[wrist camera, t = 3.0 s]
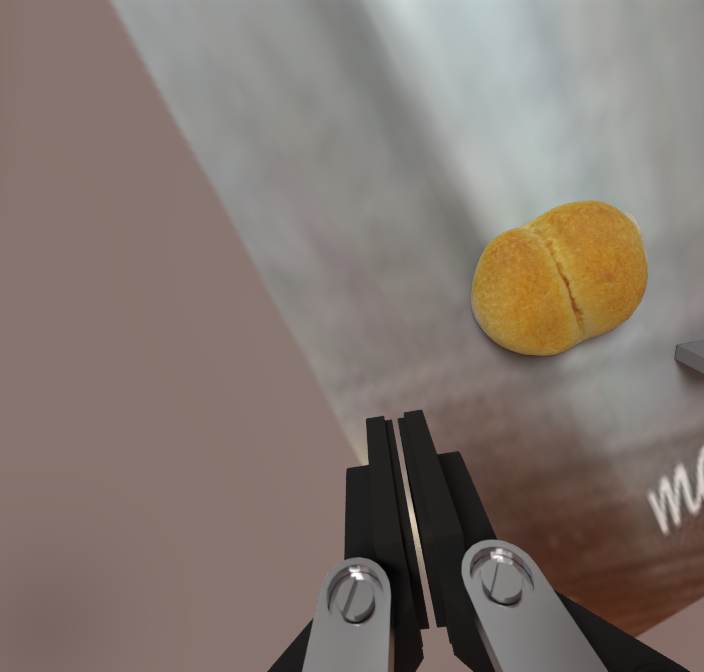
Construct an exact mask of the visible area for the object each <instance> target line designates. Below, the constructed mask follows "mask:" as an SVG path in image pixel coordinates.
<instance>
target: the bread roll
mask: <svg viewBox="0 0 704 672" xmlns="http://www.w3.org/2000/svg"><path fill="white" fill-rule="evenodd" d="M647 266H648V262H647V260H646V252H645V246H644V242H643V239H642V232H641V230H640V228H639V226H638V223H637V222H636V220H635V219H634V217H633V216H632V215H631V214H629V213H626V212H621V211H619V210H618V209H616V208H615V207H613V206H611V205H609V204H606V203H604V202H599V201H593V200H590V201H580V202H574V203H568V204H564V205H561V206H558V207H556V208H553V209H551V210H549V211H548V212H546V213H544V214H543V215H541V216H539V217H538V218H536V219H535V220H533V221H531V222H529V223H527V224H525V225H523V226H521V227H518V228H514V229H511V230H509V231H506V232H504V233H502V234H501V235H499V236H497V237H496V238H495V239H493V240H492V241H491V242H490V243H489V244H488V245H487V246H486V248H485V249H484V251H483V253H482V255H481V257H480V259H479V262H478V265H477V268H476V271H475V274H474V278H473V282H472V290H471V307H472V312H473V314H474V317H475V319H476V321H477V323H478V324H479V326H480V327H481V328H482V330H483V331H484V332H485V333H486V334H487V335H488V336H489V337H490V338H491V339H492V340H493V341H495V342H496V343H497V344H499V345H500V346H502V347H504V348H506V349H509V350H511V351H514V352H517V353H521V354H524V355H538V356H547V355H555V354H559V353H562V352H564V351H566V350H568V349H570V348H572V347H573V346H575V345H576V344H578V343H580V342H582V341H584V340H586V339H589V338H592V337H595V336H598V335H601V334H604V333H606V332H608V331H611V330H613V329H614V328H616V327H617V326H618V325H620V324H621V323H622V322H624V321H625V320H627V319H629V317H630V316H631V315H632V314H633V312H634V311H635V310H636V308H637V307H638V305H639V303H640V302H641V300H642V298H643V295H644V293H645V289H646V284H647V277H648V275H647Z"/></svg>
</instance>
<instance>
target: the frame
mask: <svg viewBox="0 0 704 672" xmlns="http://www.w3.org/2000/svg"><path fill="white" fill-rule="evenodd" d="M675 359H676V360H678V361H680V362H682V363H684V364H686V365H688V366H690V367H692V368H694V369H696V370H697V371H699V372H701V373H703V374H704V341H698V342H692V343H686V344H680V345H677V349H676V354H675Z"/></svg>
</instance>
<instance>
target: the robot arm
mask: <svg viewBox="0 0 704 672" xmlns="http://www.w3.org/2000/svg"><path fill="white" fill-rule="evenodd" d="M398 424H399V430H400V436H401V441H402V447H403V453H404V459H405V464H406V470H407V476H408V482H409V487H410V493H411V498H412V503H413V508H414V513H415V518H416V523H417V528H418V533H419V539H420V544H421V549H422V554H423V559H424V564H425V569H426V574H427V579H428V584H429V589H430V594H431V599H432V604H433V609H434V614H435V619H436V624H437V627H446V628H447V632H448V637H449V641H450V644H452V647H453V651H454V655H455V656H457V657H458V658H459V659H460V660H461V661H462V662H463V663H464V664H465V665H467V666H468V667H469V668H470V669H471V670H472V671H473V672H690V671H688V670H687V669H685V668H684V667H682V666H681V665H679V664H677V663H676V662H674V661H672V660H671V659H669V658H667V657H666V656H664V655H662V654H660V653H659V652H657V651H655V650H654V649H652V648H650V647H649V646H647V645H645V644H643V643H642V642H640V641H639V640H637V639H635V638H634V637H632V636H630V635H629V634H627V633H625V632H624V631H622V630H620V629H619V628H617V627H615V626H614V625H612V624H610V623H609V622H607V621H605V620H604V619H602V618H600V617H599V616H597V615H595V614H593V613H592V612H590V611H588V610H587V609H585V608H583V607H582V606H580V605H578V604H577V603H575V602H573V601H572V600H570V599H568V598H567V597H565V596H563V595H562V594H560V593H558V592H557V591H555V590H553V589H552V587H551V586H550V584H549V583H548V581H547V580H546V578H545V577H544V575H543V574H542V572H541V571H540V569H539V568H538V566H537V565H536V564H535V562H534V561H533V560H532V559H531V558H530V557H529V555H528V554H527V553H525V552H524V551H522V550H521V549H520V548H518V547H517V546H515V545H512V544H510V543H508V542H505V541H500V540H497V538H496V536H495V533H494V531H493V529H492V526H491V524H490V522H489V519H488V517H487V515H486V512H485V510H484V508H483V505H482V503H481V501H480V498H479V496H478V493H477V491H476V489H475V486H474V484H473V482H472V479H471V477H470V475H469V472H468V470H467V468H466V465H465V463H464V461H463V458H462V456H461V454H460V453H459V451H457V452H450V453H444V454H437V453H436V450H435V447H434V444H433V441H432V438H431V435H430V432H429V429H428V426H427V423H426V420H425V417H424V414H423V411H422V410H416V411H410V412H404V418H398ZM366 428H367V444H368V460H369V465H365V466H359V467H352V468H348V469H347V473H346V511H345V555H344V556H345V558H344V561H343V562H341V563H339V564H338V565H336V566H335V567H334V568H333V569H332V570H331V571H330V572H329V573H328V575H327V576H326V578H325V579H324V581H323V583H322V586H321V589H320V592H319V596H318V601H317V605H316V610H315V615H314V618H313V619H312V620H311V621H310V623H309V624H308V625H307V626H306V627H305V628H304V629H303V631H302V632H301V633H300V634H299V635H298V637H297V638H296V639H295V640H294V641H293V642H292V643H291V645H290V646H289V647H288V648H287V649H286V650H285V652H284V653H283V654H282V655H281V656H280V657H279V659H278V660H277V661H276V662H275V663H274V664H273V666H272V667H271V668H270V669H269V670H268V671H267V672H416V670H417V668H418V667H419V665H420V663H421V662H422V660H423V658H424V656H423V650H422V647H423V643H422V637H421V631H420V630H421V629H429V623H428V618H427V612H426V606H425V601H424V595H423V590H422V584H421V578H420V573H419V567H418V562H417V556H416V551H415V545H414V540H413V534H412V528H411V523H410V517H409V512H408V506H407V501H406V495H405V490H404V484H403V479H402V473H401V468H400V462H399V456H398V451H397V445H396V440H395V434H394V429H393V423H392V420H386V421H385V419H384V416H380V417H373V418H367V419H366Z"/></svg>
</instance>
